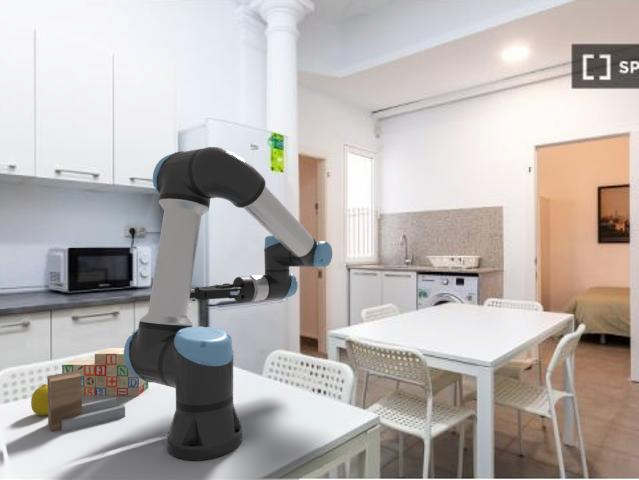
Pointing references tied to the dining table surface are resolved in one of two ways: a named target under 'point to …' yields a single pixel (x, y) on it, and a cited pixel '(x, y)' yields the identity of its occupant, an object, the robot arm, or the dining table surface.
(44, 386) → the lemon
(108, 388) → the stack of blocks
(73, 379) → the block
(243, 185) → the robot arm
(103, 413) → the chute
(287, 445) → the dining table surface
